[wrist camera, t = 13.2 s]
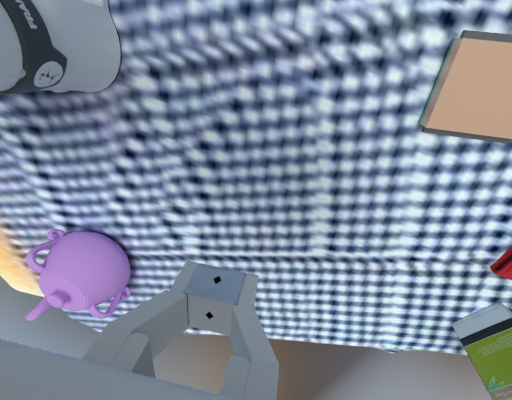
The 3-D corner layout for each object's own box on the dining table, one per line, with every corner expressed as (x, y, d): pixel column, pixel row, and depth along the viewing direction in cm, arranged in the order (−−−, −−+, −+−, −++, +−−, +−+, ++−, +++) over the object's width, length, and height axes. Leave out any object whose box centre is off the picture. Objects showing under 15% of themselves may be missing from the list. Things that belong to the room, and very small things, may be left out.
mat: (421, 130, 37) (423, 131, 37) (463, 30, 31) (465, 30, 31) (504, 142, 36) (507, 143, 36) (564, 40, 30) (568, 40, 30)
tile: (425, 127, 34) (525, 140, 33) (463, 38, 29) (582, 49, 28) (419, 123, 36) (512, 135, 35) (452, 39, 31) (563, 50, 30)
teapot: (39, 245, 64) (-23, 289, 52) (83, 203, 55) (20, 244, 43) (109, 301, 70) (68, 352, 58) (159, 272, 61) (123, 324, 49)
